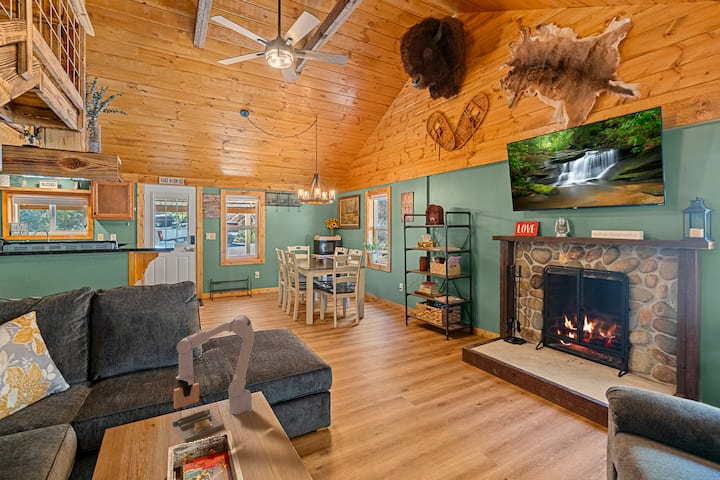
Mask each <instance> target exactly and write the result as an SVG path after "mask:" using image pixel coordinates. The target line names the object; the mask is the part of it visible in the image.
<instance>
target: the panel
mask: <svg viewBox="0 0 720 480" xmlns="http://www.w3.org/2000/svg"><path fill="white" fill-rule="evenodd" d="M198 402H200V383H199V382H196V383H195V382H194V384H193V386H192V388H191V393H190V396H187V397H184V394H183V388H182V387H177V388H174V389H173V408H174V410H177V409H180V408H183V407H186V406H189V405H192V404H195V403H198Z"/></svg>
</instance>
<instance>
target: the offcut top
mask: <svg viewBox="0 0 720 480" xmlns="http://www.w3.org/2000/svg"><path fill="white" fill-rule="evenodd" d="M207 427H210V422H209V420H208V419H207V420H204V421H201V422H197V423H195V429H196V431H198V430H201V429H204V428H207Z"/></svg>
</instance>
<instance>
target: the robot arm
mask: <svg viewBox="0 0 720 480" xmlns="http://www.w3.org/2000/svg"><path fill="white" fill-rule="evenodd" d="M253 328H254V327H253V325H252V321H251V320H250V319H249V317H248V316H247V315H243V314H240V315H238V316H237V317H233V318H230V319H228V320H225V321H224V322H222V323H220V324H218V325H216V326H214V327H212V328H211V329H208V330H206V329H202V330H201V329H199V330H197V331H196V333H194V334H191V335H188V336H186V337H184V338H183V339H180V341H179V342H178V343H177V345H176V348H175V349H176V351H177V353H178V376H175V380H176V381H177V382H178V384H179V386H180V387H182V388H183V394H184V397H187V396H190V393H191V388H192V386H193V384H195V381H196V380H195V379H194V361H193V360H194V354H193V352H194V351H193V350H194V349H196V348H197V347H200V346H201V345H203V344H206V343H208V342H209V341H210V338H211V337H214V336H217V335H218V334H221V333H224V332H225V331H226V332H228V333H231V332H233V334H235V335H237V336H238V337H240V338H241V339H242V344H241V348H240V352H239V355H238V360H237V363H236V368H235V372H234V374H233V377H232V378H233V379H232V381H231V382H230V384H229V386H228V389H227V393H228V412H229V414H231V415H240V414H242V413H244V412H246V411H247V412H248V413H252V412H253V409H252V407H253V404H252V403H253V402H252V400H253V399H252V398H253V397H252V394H251V391H250V390H249V389H246V388H245V386H246V384H247V378H246V377H247V369H248V365H249V360H250V357H251V354H252V353H251V352H252V350H253V345H254V341H255V337H256V334H255V331H254V329H253ZM180 387H179V388H180Z"/></svg>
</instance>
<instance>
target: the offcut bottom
mask: <svg viewBox="0 0 720 480" xmlns="http://www.w3.org/2000/svg"><path fill="white" fill-rule="evenodd" d="M211 427H213V425H212V424H211V423H210V427H207V428H204V429H201V430H198V431H196V429H195V428H194V432H195V433H199V432H201V431H204V430H206V429H209V428H211Z"/></svg>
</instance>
